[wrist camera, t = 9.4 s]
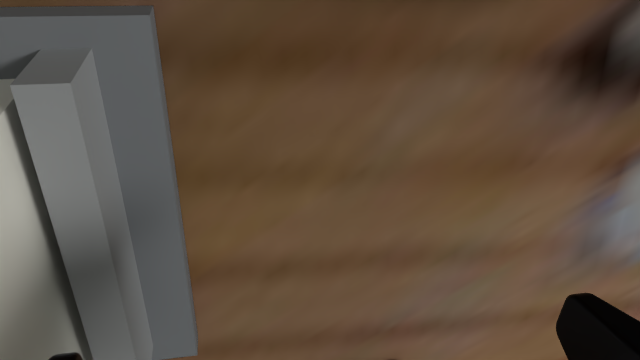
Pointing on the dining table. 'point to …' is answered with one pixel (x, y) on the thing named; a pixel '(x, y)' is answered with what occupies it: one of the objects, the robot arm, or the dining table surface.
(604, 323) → the robot arm
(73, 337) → the white rectangular block
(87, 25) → the clip plinth
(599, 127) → the dining table surface
